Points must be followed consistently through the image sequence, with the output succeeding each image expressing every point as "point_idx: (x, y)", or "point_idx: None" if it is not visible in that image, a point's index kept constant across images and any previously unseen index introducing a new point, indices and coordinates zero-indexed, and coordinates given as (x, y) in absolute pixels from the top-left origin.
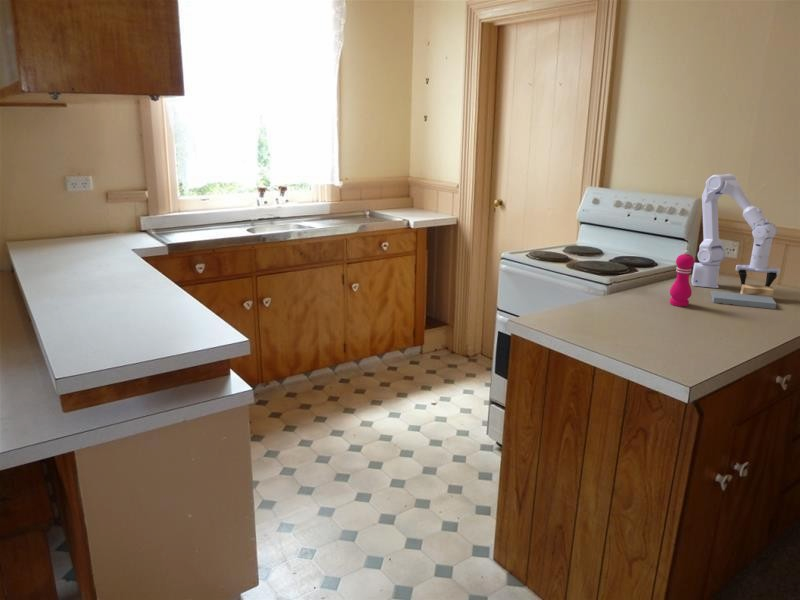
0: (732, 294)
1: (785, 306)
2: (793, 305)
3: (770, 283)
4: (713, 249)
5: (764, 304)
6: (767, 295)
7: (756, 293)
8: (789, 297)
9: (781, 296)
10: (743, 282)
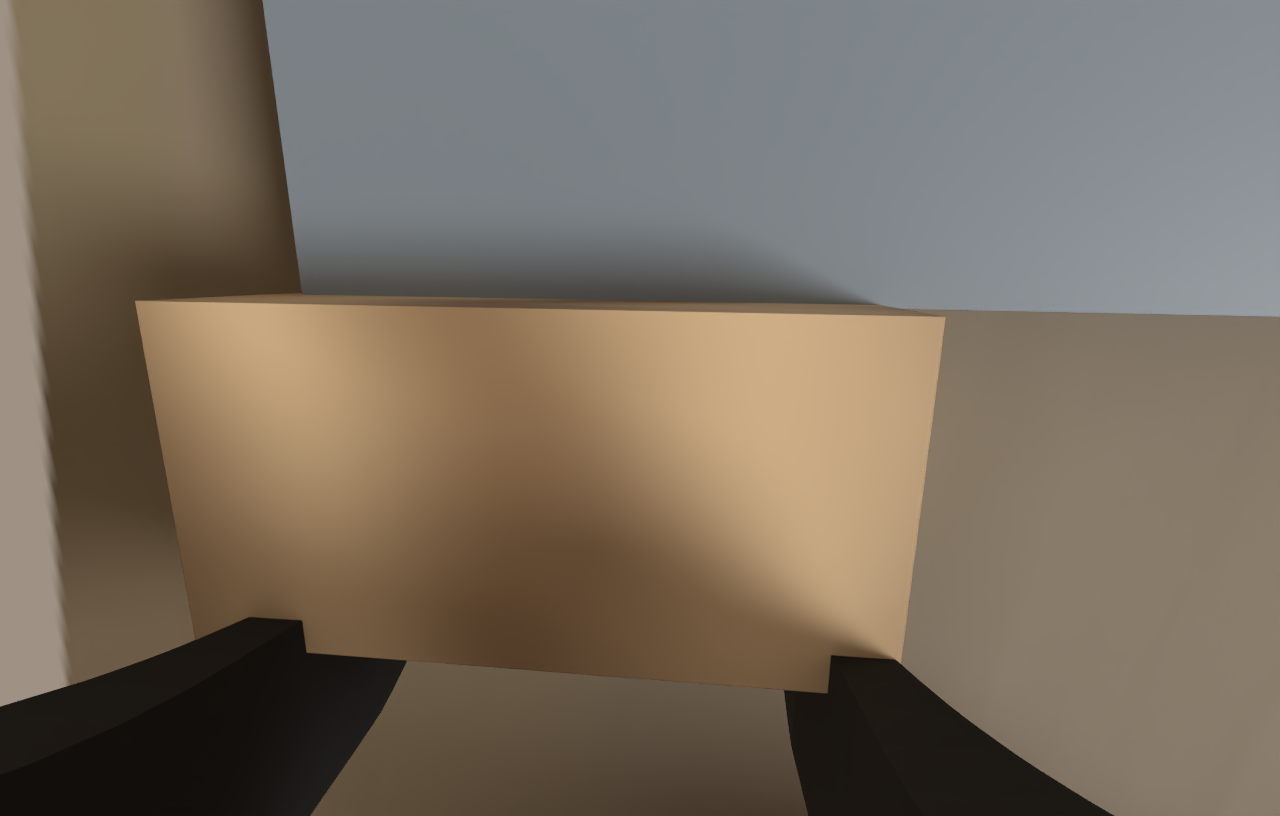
0: (1182, 122)
1: (133, 39)
2: (25, 186)
3: (154, 666)
4: None
5: None
6: (364, 296)
7: (584, 302)
8: (111, 666)
9: None
10: (895, 692)
